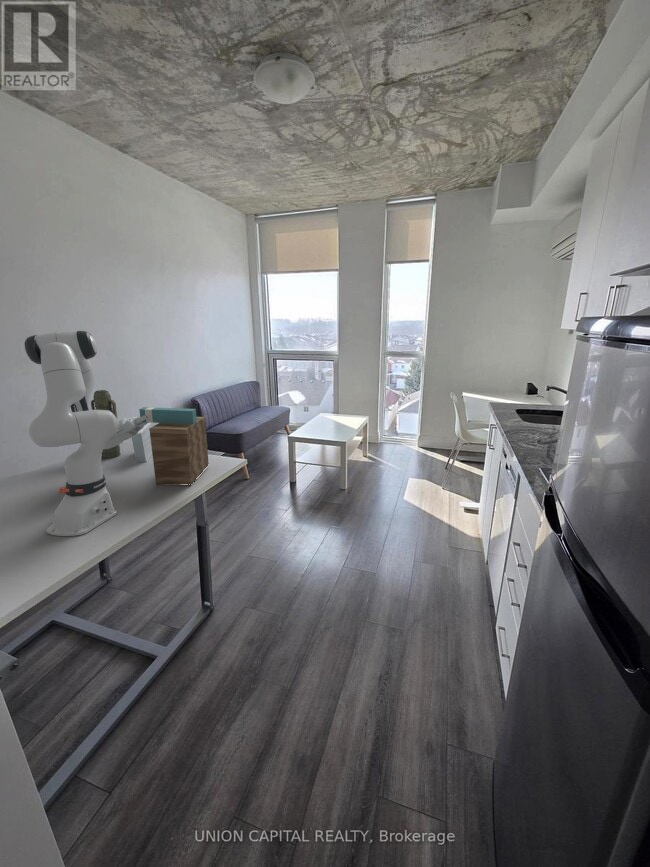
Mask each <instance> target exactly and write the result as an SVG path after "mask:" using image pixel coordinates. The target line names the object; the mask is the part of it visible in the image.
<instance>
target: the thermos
mask: <svg viewBox="0 0 650 867" xmlns="http://www.w3.org/2000/svg"><path fill="white" fill-rule="evenodd" d="M92 397H93V399H92V400H91V401H90V406H91V410H109V411H110V412H112V413H113V414H114V415H115V417H116V418H117V419H118V414H117V411H118V410H117V404H116V402H115V401H114V400H113V399H112V397H111V394H110V392H109V391H108V390H104V389H101V390H96V391H94V392H93V396H92ZM120 445H121V444H119V445H117V446H115V447H112V448H110V449H103V451H102V455H101V458H103V459H115V458H117V457H118V458H119V456H121V446H120Z"/></svg>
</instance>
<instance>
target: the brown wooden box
mask: <svg viewBox="0 0 650 867" xmlns="http://www.w3.org/2000/svg"><path fill="white" fill-rule="evenodd" d="M196 417H197V422H196V423H194V424H176V423H156V424H155V425H153V427H151V428H149V431H150V439H151V447H152V455H151V456H152V462H153V469H154V470H153V472H154V478H155V485H158V484H188V485H189V484H190V485H191V484H192V483H193V482H194V481H195V480H196V478H197V477H198V476H199V475H200V474H201V473H202V472H203V470H204V469H205V468H206V467H207V466H208V464H209V465H210V462H209V451H208V449H209V448H208V438H207V427H206V426H207V424H206V417H205V416H196ZM196 481H197V480H196Z"/></svg>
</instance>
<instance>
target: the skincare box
mask: <svg viewBox="0 0 650 867" xmlns="http://www.w3.org/2000/svg"><path fill="white" fill-rule="evenodd" d="M153 426H154V425H153V423H147V424H146V425H145V426H143V427H144V428H142V429H141V430H140V431H139V432H138V433H137V434H136V435H134V436H133V437H131V441H132V446H133V451H134V457H135V458H134V459H135V463H147V462H148V460H149V459H150V458H151V456H152V455H151V454H152V447H151V439H150V431H149V428H151V427H153ZM149 457H150V458H149ZM146 461H147V462H146Z"/></svg>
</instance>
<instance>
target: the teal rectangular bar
mask: <svg viewBox="0 0 650 867" xmlns="http://www.w3.org/2000/svg"><path fill="white" fill-rule="evenodd" d="M138 411H139V416H140V417H142V416H144V415H146V416H147V417H148V418H147V419H145V420H144V421H142V422H146V423H152V424H158V423H176V424H194V423H196V422H197V417H198V416H197V409H196V408H181V407H180V408H176V407H175V408H174V407H153V406H152V407H146V406H145V407H142V408H139V410H138Z"/></svg>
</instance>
